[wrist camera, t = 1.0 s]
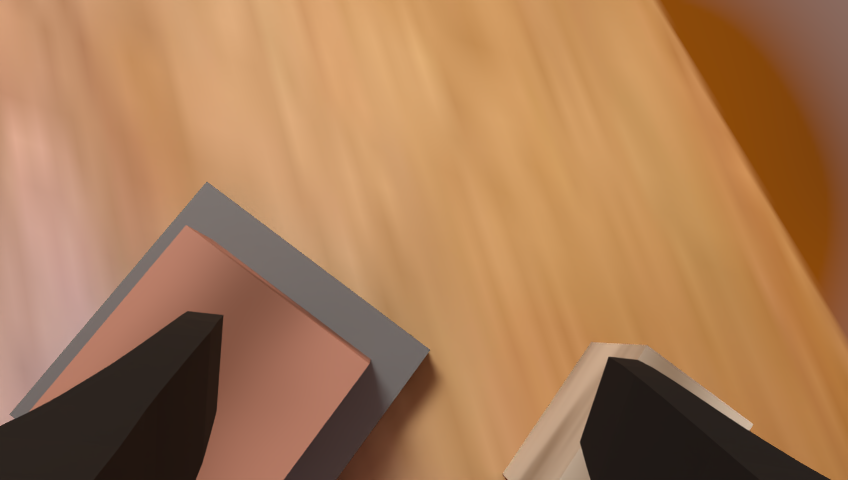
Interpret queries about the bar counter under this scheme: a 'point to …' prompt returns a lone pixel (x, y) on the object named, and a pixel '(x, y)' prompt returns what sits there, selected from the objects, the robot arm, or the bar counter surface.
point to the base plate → (309, 289)
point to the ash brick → (568, 412)
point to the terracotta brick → (234, 356)
